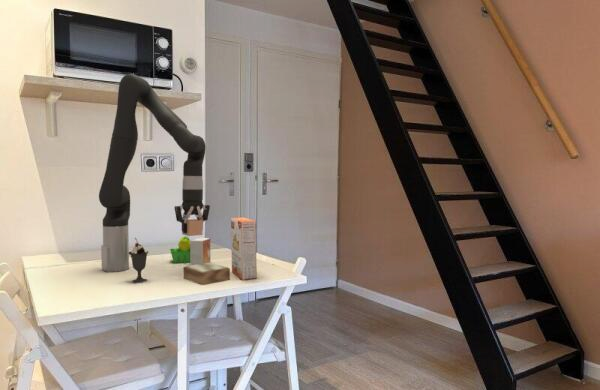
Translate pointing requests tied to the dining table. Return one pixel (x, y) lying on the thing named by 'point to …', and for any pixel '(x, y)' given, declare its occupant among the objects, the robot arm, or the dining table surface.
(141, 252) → the sundae
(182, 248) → the fruit basket
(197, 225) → the cube
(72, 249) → the dining table surface
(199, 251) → the small box
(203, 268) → the block
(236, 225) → the cracker box
